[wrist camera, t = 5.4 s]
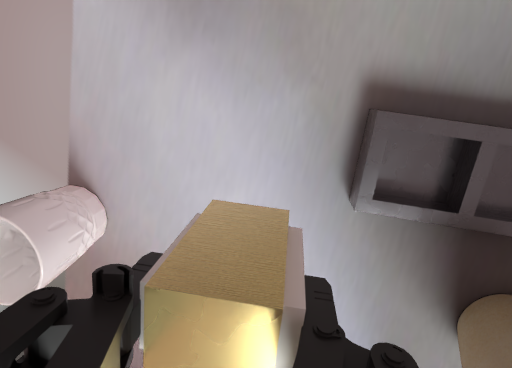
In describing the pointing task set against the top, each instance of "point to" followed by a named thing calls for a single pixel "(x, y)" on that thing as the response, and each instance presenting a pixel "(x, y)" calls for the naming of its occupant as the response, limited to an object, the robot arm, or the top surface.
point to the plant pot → (486, 333)
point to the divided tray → (435, 172)
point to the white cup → (45, 237)
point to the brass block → (219, 292)
